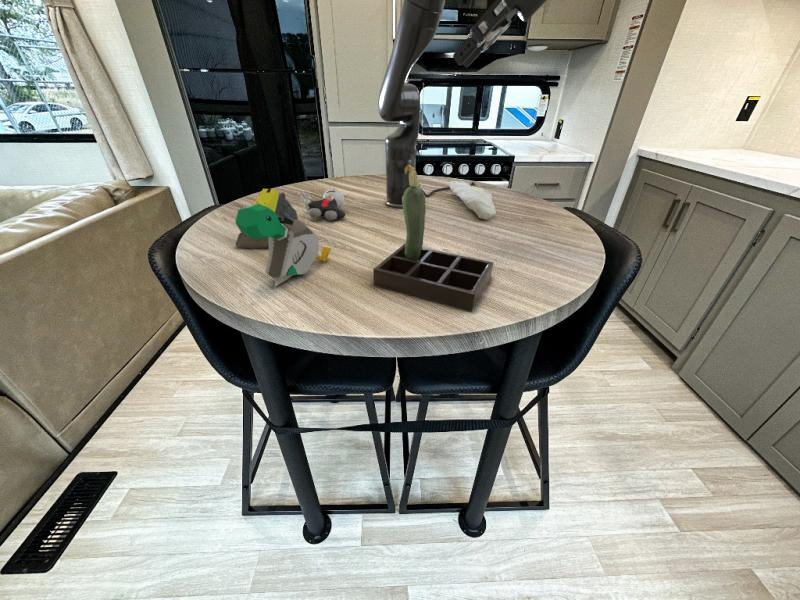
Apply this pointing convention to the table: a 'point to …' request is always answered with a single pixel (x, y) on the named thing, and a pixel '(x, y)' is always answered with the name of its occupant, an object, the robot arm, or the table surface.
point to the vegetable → (414, 215)
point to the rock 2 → (474, 199)
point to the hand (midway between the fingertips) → (459, 62)
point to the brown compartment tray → (435, 276)
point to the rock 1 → (281, 211)
